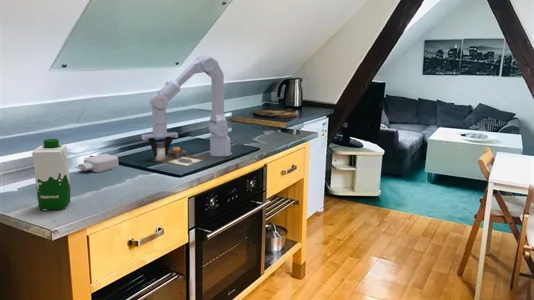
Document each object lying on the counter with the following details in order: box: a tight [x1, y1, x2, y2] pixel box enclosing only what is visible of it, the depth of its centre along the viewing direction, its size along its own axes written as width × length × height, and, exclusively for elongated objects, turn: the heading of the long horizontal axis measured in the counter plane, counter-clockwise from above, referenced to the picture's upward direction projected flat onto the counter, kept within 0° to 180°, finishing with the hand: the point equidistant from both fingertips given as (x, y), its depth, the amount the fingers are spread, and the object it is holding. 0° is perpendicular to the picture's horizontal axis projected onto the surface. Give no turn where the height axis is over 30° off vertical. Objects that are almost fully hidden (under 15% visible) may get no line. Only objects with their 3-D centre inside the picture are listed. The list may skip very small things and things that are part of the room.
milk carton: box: [31, 138, 71, 211], centre depth 131 cm, size 9×9×20 cm
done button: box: [172, 146, 181, 153], centre depth 191 cm, size 3×3×2 cm
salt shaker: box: [155, 141, 167, 162], centre depth 184 cm, size 4×4×7 cm
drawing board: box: [152, 149, 209, 167], centre depth 186 cm, size 15×18×3 cm
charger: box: [74, 153, 119, 173], centre depth 171 cm, size 5×9×15 cm
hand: (160, 155), depth 185 cm, fingers closed on salt shaker, 4 cm apart
